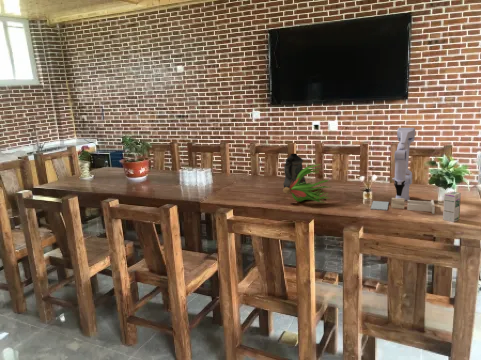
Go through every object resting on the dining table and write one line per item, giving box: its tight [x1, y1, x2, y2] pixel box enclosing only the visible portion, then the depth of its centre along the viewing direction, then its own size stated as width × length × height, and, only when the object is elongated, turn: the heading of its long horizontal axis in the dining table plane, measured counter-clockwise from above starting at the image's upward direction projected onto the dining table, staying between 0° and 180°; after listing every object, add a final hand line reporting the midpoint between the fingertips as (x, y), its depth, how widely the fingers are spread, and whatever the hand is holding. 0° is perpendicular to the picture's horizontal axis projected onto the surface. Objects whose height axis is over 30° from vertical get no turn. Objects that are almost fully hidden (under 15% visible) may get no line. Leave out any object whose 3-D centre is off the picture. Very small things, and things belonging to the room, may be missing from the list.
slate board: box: [370, 200, 390, 211], centre depth 232 cm, size 16×9×1 cm, turn 157°
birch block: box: [390, 197, 406, 210], centre depth 228 cm, size 4×7×5 cm, turn 67°
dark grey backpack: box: [282, 153, 307, 189], centre depth 280 cm, size 16×19×25 cm
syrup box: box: [442, 190, 462, 223], centre depth 202 cm, size 6×6×14 cm
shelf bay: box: [406, 199, 436, 215], centre depth 223 cm, size 16×14×4 cm
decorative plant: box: [282, 162, 331, 204], centre depth 247 cm, size 26×25×30 cm
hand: (399, 194), depth 226 cm, fingers open, 7 cm apart
